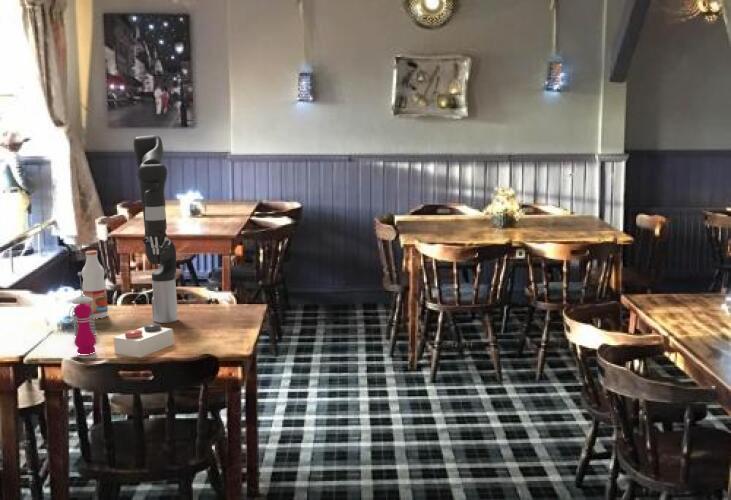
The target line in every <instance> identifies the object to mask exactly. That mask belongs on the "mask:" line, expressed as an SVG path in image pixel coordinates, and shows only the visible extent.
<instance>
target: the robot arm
mask: <svg viewBox="0 0 731 500" xmlns="http://www.w3.org/2000/svg"><path fill="white" fill-rule="evenodd" d="M163 145H164V144H163V141H162V139H161V137H160V136H159V135H157V134H156V135H155V134H154V135H152V134H151V135H141V136H136V137H134V138H133V151H134V156H135V163H136V168H137V178H138V180H139V191H140V201H141V207H142V208H141V209H142V215H143V216H142V217H143V225H144V238H142V242H143V243H144V249H145V256H146V260H147V261H148V263H150V264H151V265H159V267H158V268H156V269H155V271H153V272H152V274H151V283H152V284H151V286H152V298H151V308H152V309H151V310H152V311H151V312H152V321H153V322H155V323H157V324H167V323H173V322H177V321H178V320H179V315H178V302H177V301H178V300H177V299H178V298H177V287H176V273H177V250H176V246H175V244H174V242H173V240H172V239H170V238H169V237H168V235H167V233H166V231H167V228H168V227H167V225H168V224H167V213H166V200H165V199H166V197H165V187H166V182H167V177H168V170H167V169H168V168H167V167H166V165H165V164H162V158H163V155H164V154H163V153H164V147H163Z"/></svg>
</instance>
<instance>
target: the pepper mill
mask: <svg viewBox="0 0 731 500" xmlns="http://www.w3.org/2000/svg"><path fill="white" fill-rule="evenodd" d="M74 308H75V309H74ZM74 308H73V309H74V311H73V314H75V315H76V316H77V317H76V319H77V320H76V321H77V322H78V323H77V324H78V326H77V328H78V333H77V335H76V338H75V340H74V344H75V346H76V347H77V351H76V353H77V352H78V353H80V354H90V353H93V352H95V353H96V348H95V344H96V343H97V339H96V336H94V334H93V332H92V331H91V328H90V320H91V319H90V318H91V317H90V314H91V311H92V310H91V307H90V306H89V305H88V304H85V301H84V300H80V304H76V305H75V306H74Z"/></svg>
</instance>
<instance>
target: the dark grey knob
mask: <svg viewBox="0 0 731 500" xmlns="http://www.w3.org/2000/svg"><path fill="white" fill-rule="evenodd" d="M143 327H144V330H145V331H152V332H154V331H157V330H160V329H161V327H162V323H157V322H155V323H154V322H153V323H148V324H145V325H144V326H143Z"/></svg>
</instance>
